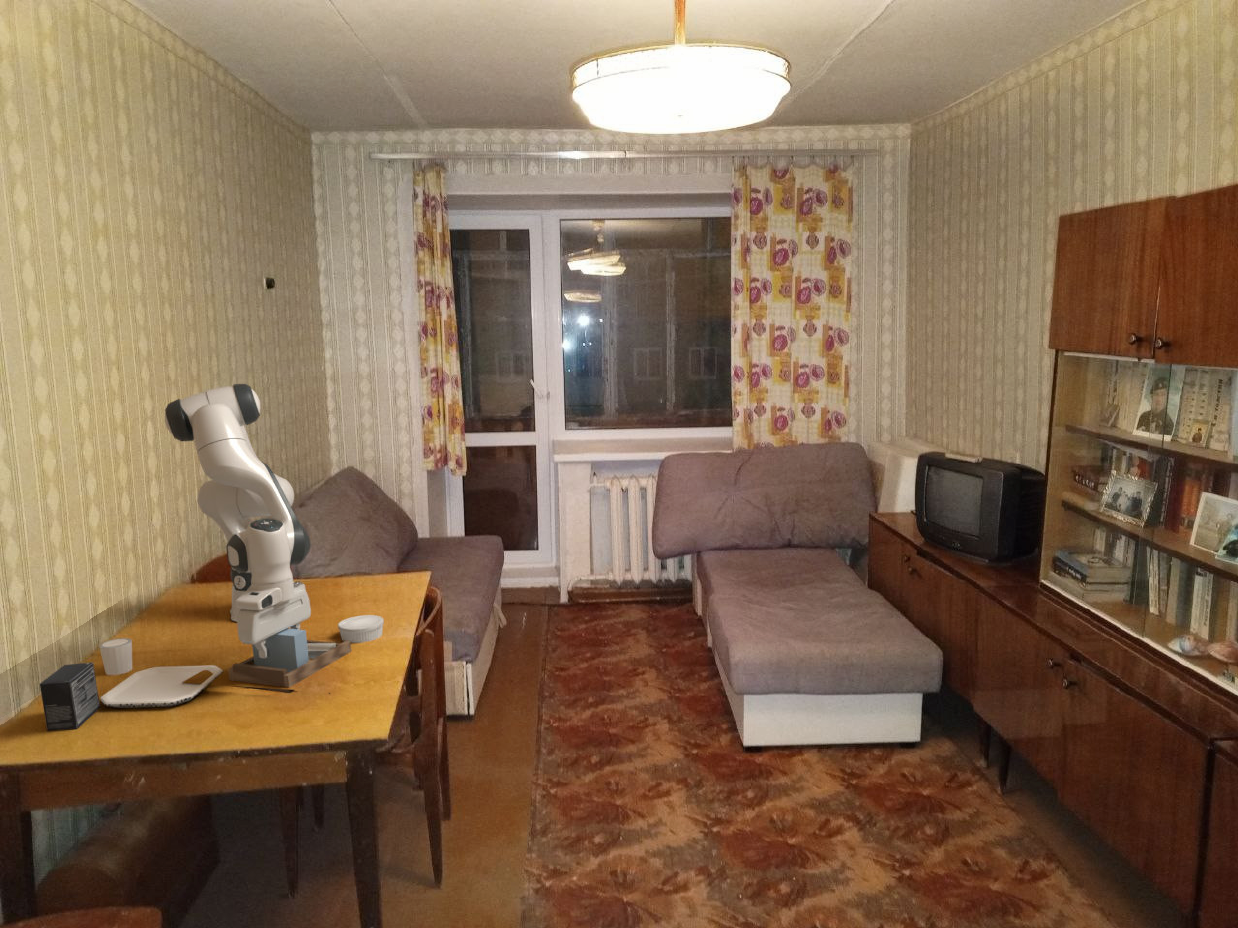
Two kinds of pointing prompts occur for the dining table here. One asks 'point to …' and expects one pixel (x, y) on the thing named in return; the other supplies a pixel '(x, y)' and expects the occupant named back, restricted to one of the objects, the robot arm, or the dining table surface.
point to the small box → (70, 696)
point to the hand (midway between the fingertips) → (279, 649)
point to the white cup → (117, 656)
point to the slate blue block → (284, 650)
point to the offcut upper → (318, 649)
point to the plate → (158, 687)
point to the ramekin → (361, 628)
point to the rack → (280, 676)
